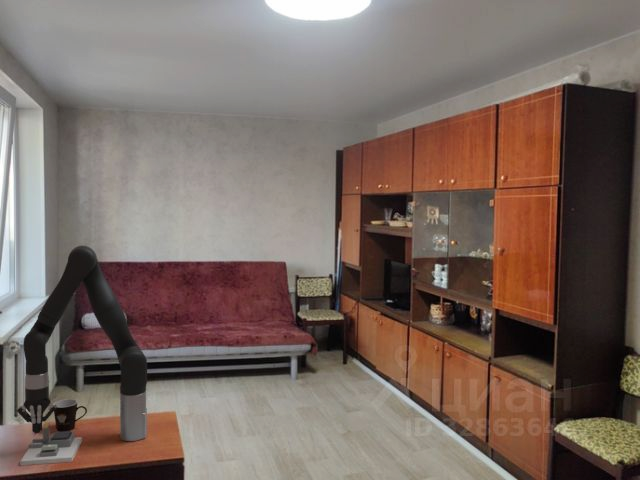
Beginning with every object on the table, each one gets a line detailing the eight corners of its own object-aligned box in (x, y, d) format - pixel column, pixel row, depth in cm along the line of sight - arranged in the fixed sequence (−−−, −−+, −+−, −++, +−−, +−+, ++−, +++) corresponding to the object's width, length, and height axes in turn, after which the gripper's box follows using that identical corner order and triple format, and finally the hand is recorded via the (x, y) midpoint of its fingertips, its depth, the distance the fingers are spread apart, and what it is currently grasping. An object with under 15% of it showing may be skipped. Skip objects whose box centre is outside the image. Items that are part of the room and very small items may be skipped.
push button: (70, 438, 201) (70, 430, 201) (67, 445, 196) (67, 437, 196) (55, 440, 200) (55, 431, 200) (51, 446, 195) (51, 438, 195)
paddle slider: (50, 440, 199) (50, 422, 198) (48, 445, 195) (47, 426, 195) (44, 441, 198) (44, 422, 198) (42, 445, 195) (41, 426, 194)
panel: (81, 441, 203) (81, 430, 203) (72, 461, 188) (71, 450, 187) (34, 444, 200) (34, 433, 199) (20, 465, 184) (20, 454, 184)
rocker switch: (57, 447, 191) (57, 443, 191) (55, 449, 189) (55, 446, 189) (43, 448, 190) (43, 444, 190) (41, 450, 188) (41, 447, 188)
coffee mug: (48, 430, 211) (47, 405, 211) (66, 422, 219) (65, 397, 219) (71, 436, 207) (71, 410, 206) (88, 427, 215) (88, 402, 214)
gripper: (12, 389, 190) (13, 438, 191) (54, 387, 192) (54, 436, 194) (19, 382, 197) (20, 429, 198) (59, 380, 200) (60, 427, 201)
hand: (37, 432), depth 196 cm, fingers closed
